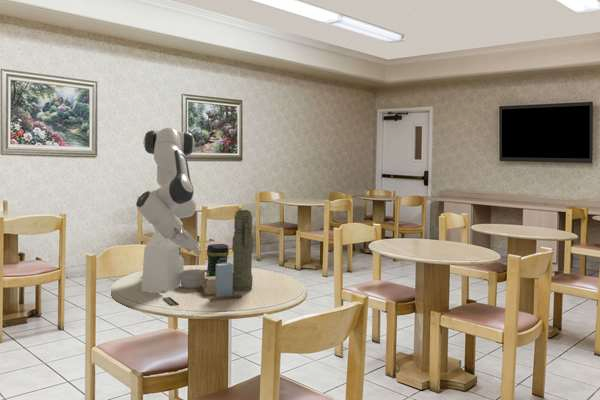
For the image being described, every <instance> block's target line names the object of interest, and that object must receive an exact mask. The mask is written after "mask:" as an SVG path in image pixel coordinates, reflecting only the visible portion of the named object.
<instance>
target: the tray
mask: <svg viewBox="0 0 600 400" xmlns="http://www.w3.org/2000/svg"><path fill="white" fill-rule="evenodd" d="M195 292H196V293H197V294H199V295H201V296H202V297H204V298H206V299H207V300H209V301H210V302H217V301H227V300H235V299H243V295H242V294H237V293H234V292H232V296H225V297H216V296H215V293H214V294H206V293H204V292H203V287H201V288H196V289H195Z"/></svg>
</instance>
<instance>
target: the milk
mask: <svg viewBox="0 0 600 400" xmlns="http://www.w3.org/2000/svg"><path fill="white" fill-rule="evenodd" d="M153 231H154V232H153V234H152V236H151V237H150V239H149V240H148V241H147V243H146V245H145V246H144V250H143V263H142V266H143V267H142V280H141V292H143V293H152V294H153V293H155V294H164V295H166V293H165V292H168V291H171V290H173V289H176V288H177V287H179V286H181V281H180V262H179V246H178V245H177V244H175V243H173V242H172V241H171V240H170V239H165V238H164V237H163V236H162V235H161V234H160V233H159V232H158V231H157V230H156V229H154V230H153Z"/></svg>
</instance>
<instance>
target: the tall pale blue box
mask: <svg viewBox="0 0 600 400" xmlns="http://www.w3.org/2000/svg"><path fill="white" fill-rule="evenodd" d="M233 291H234V290H233V263H230V262H227V263H224V264H216V280H215V296H216V297H225V296H232V293H233Z"/></svg>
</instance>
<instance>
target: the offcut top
mask: <svg viewBox="0 0 600 400" xmlns="http://www.w3.org/2000/svg"><path fill="white" fill-rule="evenodd" d="M215 280H216V276H213V277H206V276H205V277H204V285H206V286H208V287H212V286H215Z"/></svg>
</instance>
